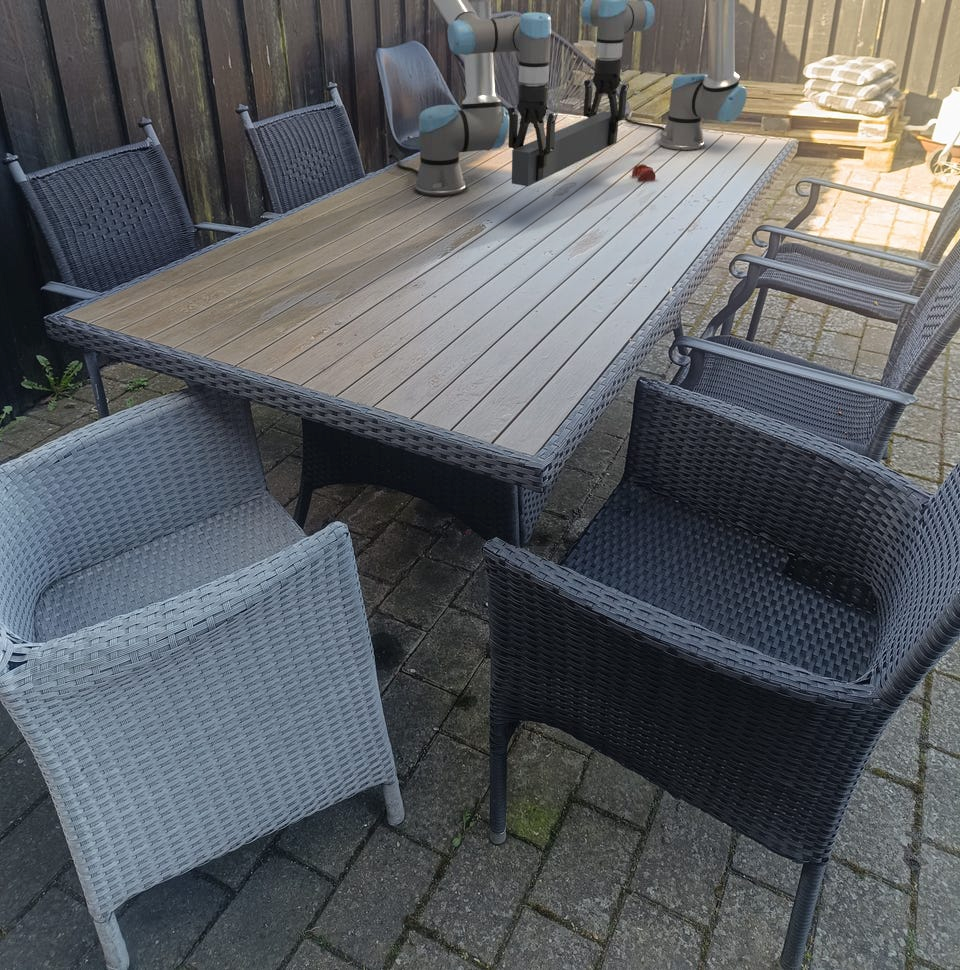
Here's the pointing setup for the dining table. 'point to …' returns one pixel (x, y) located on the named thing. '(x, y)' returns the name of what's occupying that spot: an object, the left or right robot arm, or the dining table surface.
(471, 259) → the dining table surface
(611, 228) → the dining table surface
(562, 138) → the post
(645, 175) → the red irregular lump
